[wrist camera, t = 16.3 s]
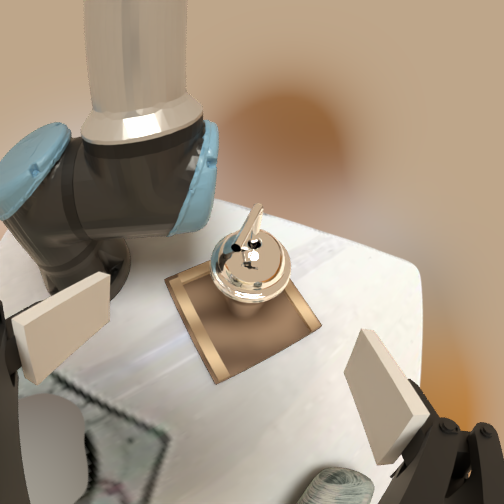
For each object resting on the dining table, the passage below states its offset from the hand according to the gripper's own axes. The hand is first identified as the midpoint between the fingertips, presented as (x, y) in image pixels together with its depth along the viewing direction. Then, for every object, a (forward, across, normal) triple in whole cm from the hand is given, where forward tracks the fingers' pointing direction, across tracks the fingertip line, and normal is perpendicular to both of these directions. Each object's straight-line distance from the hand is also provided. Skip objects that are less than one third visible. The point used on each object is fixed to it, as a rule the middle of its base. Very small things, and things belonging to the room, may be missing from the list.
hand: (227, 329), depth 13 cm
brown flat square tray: (+24, 0, -9) cm, 25 cm away
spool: (+5, +15, -28) cm, 32 cm away
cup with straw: (+23, 0, -8) cm, 24 cm away
